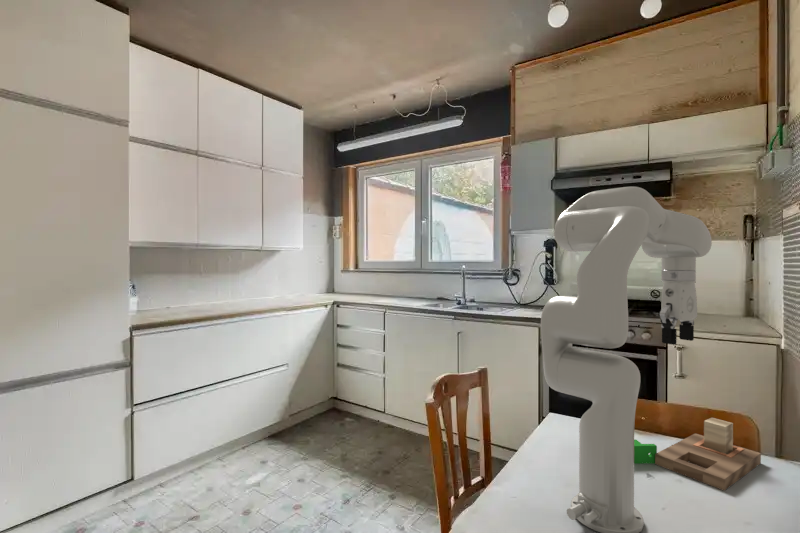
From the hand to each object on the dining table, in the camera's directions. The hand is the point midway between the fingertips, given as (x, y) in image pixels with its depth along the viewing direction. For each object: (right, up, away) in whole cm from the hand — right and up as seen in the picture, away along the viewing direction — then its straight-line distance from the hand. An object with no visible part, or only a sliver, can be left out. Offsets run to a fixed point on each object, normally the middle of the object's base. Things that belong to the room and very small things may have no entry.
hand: (677, 341), depth 109 cm
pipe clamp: (-16, -29, -6) cm, 33 cm away
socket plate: (+2, -28, -8) cm, 30 cm away
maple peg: (+7, -28, -5) cm, 30 cm away
